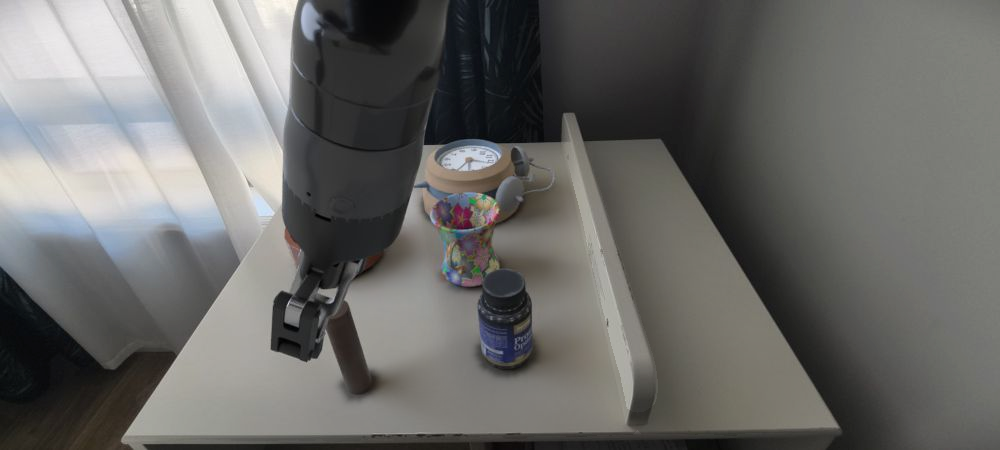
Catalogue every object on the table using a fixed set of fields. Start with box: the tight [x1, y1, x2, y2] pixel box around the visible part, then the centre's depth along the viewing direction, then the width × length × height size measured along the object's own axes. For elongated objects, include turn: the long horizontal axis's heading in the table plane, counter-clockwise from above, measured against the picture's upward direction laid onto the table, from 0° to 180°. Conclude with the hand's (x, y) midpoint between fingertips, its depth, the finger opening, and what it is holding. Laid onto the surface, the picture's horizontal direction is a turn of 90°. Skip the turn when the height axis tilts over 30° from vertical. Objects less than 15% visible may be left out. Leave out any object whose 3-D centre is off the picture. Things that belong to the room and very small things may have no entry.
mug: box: [429, 192, 501, 288], centre depth 67 cm, size 12×9×11 cm
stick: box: [325, 299, 373, 395], centre depth 53 cm, size 3×3×12 cm
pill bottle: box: [477, 268, 533, 370], centre depth 56 cm, size 6×6×11 cm
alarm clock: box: [413, 138, 556, 225], centre depth 83 cm, size 17×9×23 cm
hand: (330, 306), depth 40 cm, fingers open, 8 cm apart
